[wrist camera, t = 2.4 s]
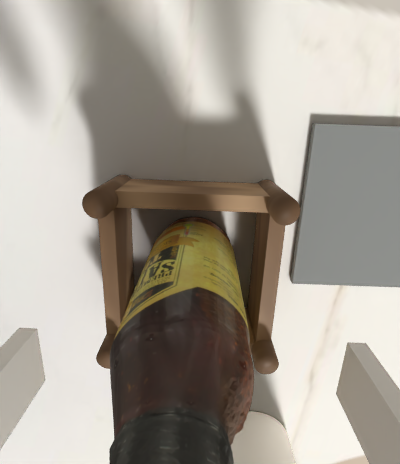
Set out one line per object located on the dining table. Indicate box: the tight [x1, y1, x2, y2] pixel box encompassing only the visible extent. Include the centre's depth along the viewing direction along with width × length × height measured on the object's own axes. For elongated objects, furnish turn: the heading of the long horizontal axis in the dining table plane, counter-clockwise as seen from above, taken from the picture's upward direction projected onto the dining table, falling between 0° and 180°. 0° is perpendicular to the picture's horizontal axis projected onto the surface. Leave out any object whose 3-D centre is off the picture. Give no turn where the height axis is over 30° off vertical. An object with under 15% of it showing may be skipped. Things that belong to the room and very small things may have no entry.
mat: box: [290, 124, 400, 287], centre depth 23 cm, size 12×12×1 cm
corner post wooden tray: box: [82, 175, 300, 374], centre depth 22 cm, size 12×12×6 cm
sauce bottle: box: [110, 217, 254, 464], centre depth 15 cm, size 7×6×20 cm
